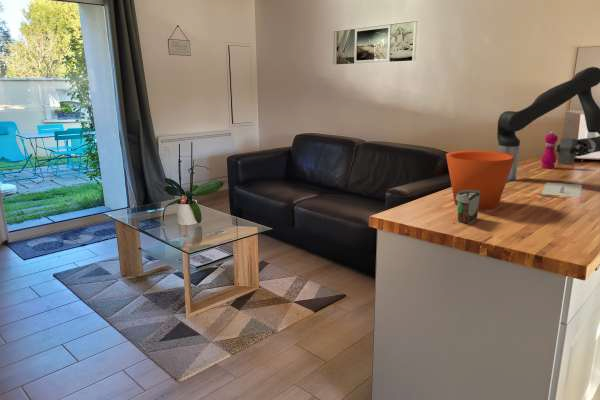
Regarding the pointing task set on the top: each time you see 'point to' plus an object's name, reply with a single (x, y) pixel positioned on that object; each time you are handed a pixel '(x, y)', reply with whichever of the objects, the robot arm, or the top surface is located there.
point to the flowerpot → (480, 174)
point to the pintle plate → (556, 188)
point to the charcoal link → (566, 151)
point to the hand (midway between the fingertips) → (564, 150)
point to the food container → (467, 205)
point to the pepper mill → (549, 151)
